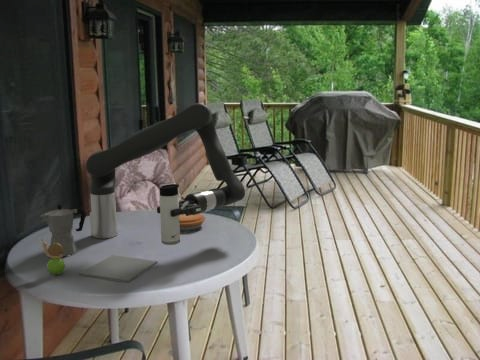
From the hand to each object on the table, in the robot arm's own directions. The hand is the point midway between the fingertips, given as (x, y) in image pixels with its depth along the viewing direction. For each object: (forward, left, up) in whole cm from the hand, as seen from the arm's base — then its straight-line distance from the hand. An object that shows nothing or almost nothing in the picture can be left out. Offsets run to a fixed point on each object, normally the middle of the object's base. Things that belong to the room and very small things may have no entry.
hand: (164, 212), depth 179 cm
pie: (-13, +40, -18) cm, 45 cm away
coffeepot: (-39, -3, -18) cm, 43 cm away
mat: (-12, -10, -17) cm, 23 cm away
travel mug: (+1, +2, -11) cm, 11 cm away
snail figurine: (-29, -21, -18) cm, 40 cm away
